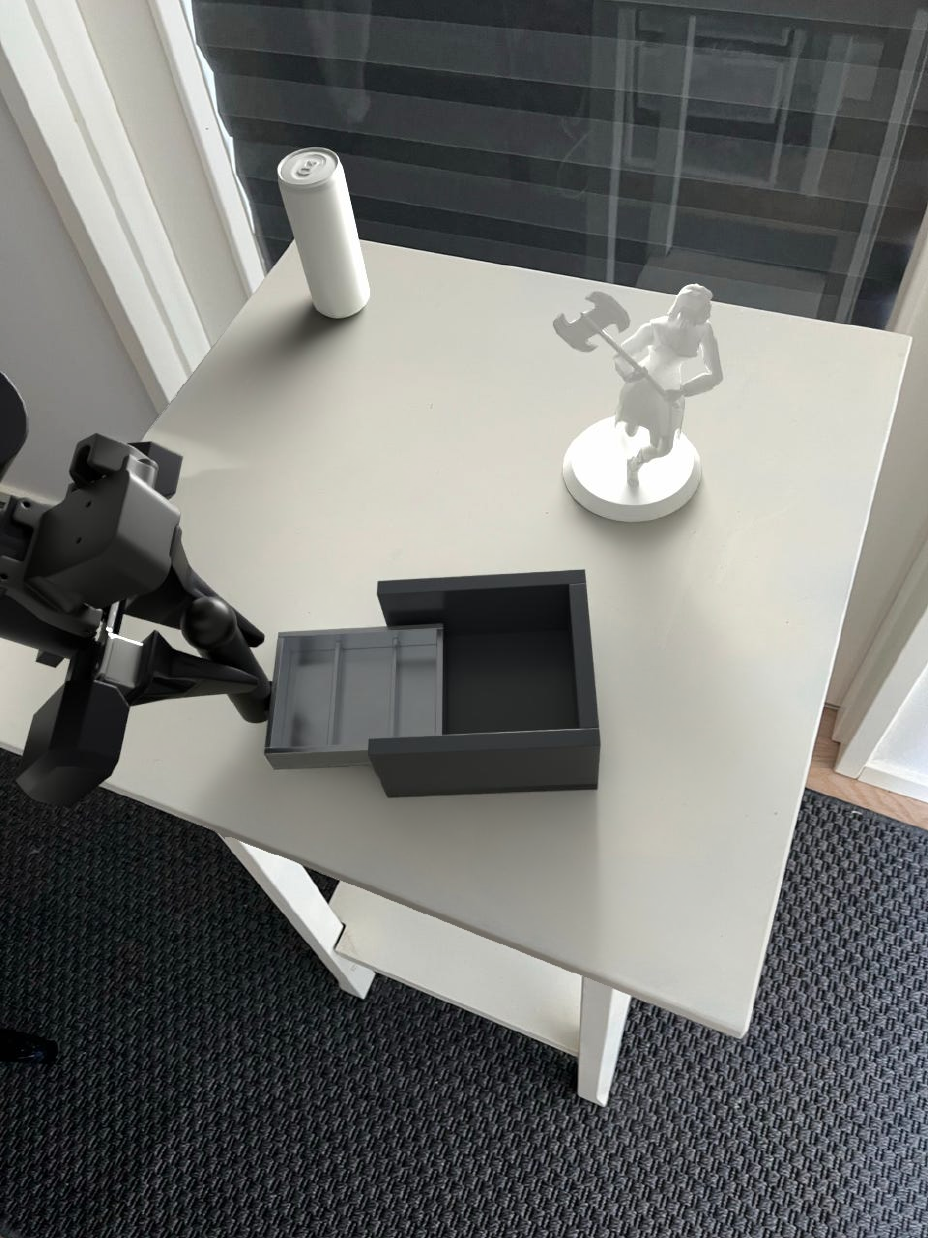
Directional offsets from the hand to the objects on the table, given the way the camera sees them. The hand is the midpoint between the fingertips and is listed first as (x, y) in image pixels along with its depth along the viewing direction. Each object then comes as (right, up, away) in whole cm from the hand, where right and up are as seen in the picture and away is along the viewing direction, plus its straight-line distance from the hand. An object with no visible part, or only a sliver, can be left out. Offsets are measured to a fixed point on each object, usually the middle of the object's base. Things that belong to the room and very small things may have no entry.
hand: (258, 663), depth 51 cm
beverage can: (+1, +29, +26) cm, 39 cm away
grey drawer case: (+13, -3, +5) cm, 14 cm away
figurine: (+23, +13, +14) cm, 29 cm away
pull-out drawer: (+4, -3, +4) cm, 6 cm away
